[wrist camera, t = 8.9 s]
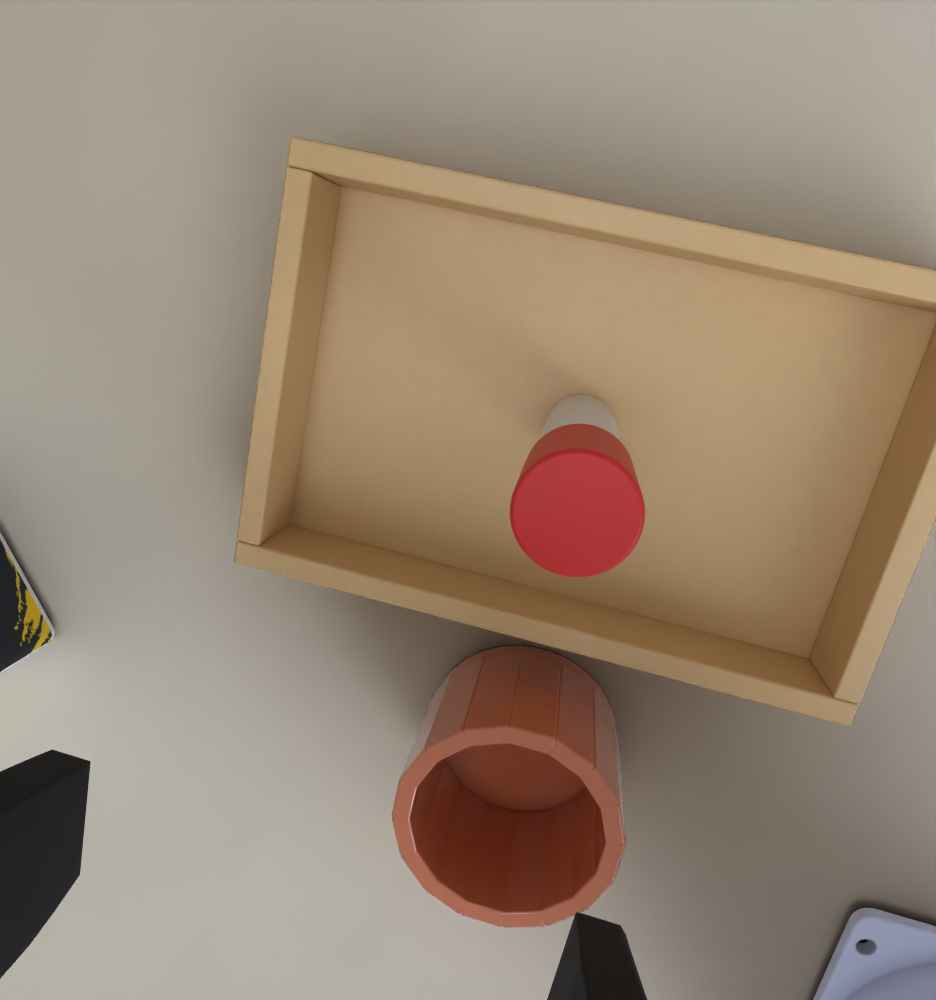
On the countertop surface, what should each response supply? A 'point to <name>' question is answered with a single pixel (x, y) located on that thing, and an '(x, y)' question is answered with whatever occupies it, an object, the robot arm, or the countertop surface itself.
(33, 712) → the countertop surface
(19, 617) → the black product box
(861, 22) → the countertop surface
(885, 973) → the robot arm
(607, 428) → the marker
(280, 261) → the tray
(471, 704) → the cup
